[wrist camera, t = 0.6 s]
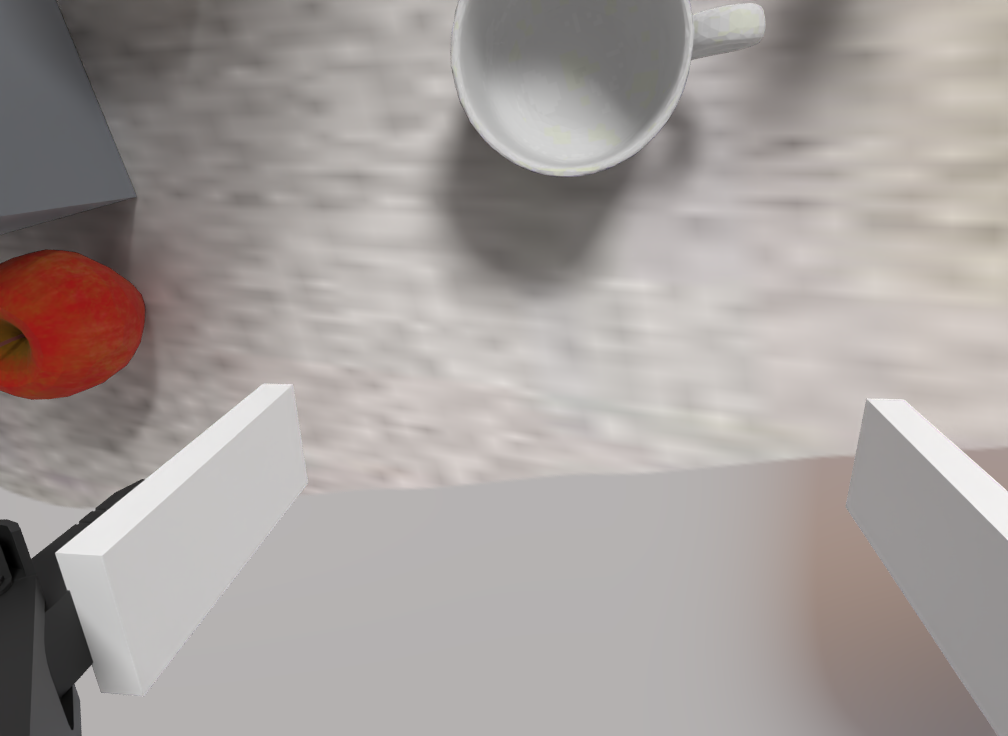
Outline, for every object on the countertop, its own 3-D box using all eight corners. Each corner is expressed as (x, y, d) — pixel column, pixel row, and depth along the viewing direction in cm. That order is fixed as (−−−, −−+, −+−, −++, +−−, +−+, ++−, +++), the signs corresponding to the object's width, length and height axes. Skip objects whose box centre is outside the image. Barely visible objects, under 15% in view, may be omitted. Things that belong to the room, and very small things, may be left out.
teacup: (473, 162, 38) (445, 169, 30) (481, -52, 34) (451, -104, 27) (715, 177, 37) (747, 189, 29) (751, -44, 33) (799, -95, 25)
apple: (97, 208, 42) (-60, 232, 32) (207, 288, 43) (89, 337, 33) (50, 308, 45) (-107, 359, 35) (154, 380, 46) (31, 451, 36)
